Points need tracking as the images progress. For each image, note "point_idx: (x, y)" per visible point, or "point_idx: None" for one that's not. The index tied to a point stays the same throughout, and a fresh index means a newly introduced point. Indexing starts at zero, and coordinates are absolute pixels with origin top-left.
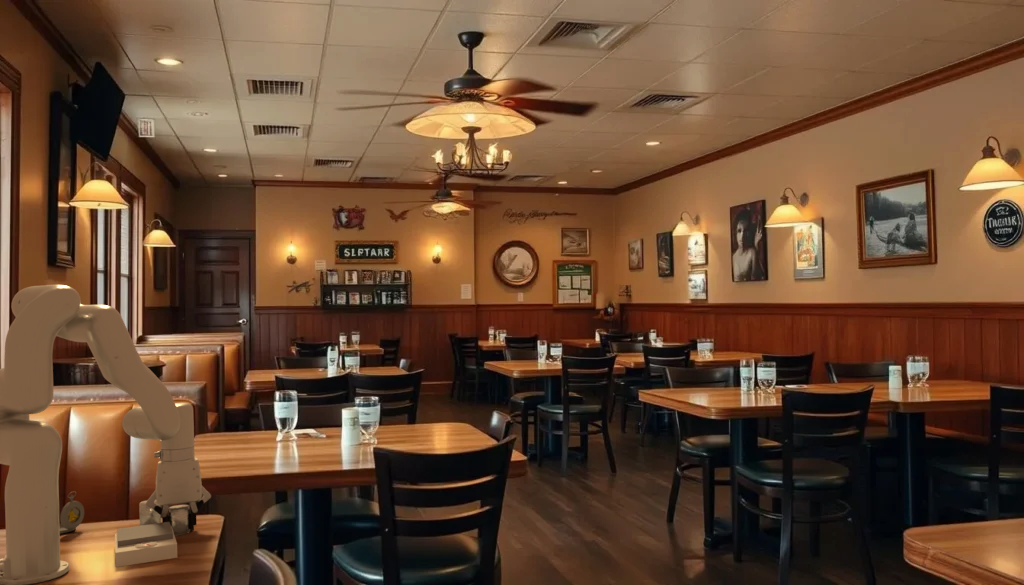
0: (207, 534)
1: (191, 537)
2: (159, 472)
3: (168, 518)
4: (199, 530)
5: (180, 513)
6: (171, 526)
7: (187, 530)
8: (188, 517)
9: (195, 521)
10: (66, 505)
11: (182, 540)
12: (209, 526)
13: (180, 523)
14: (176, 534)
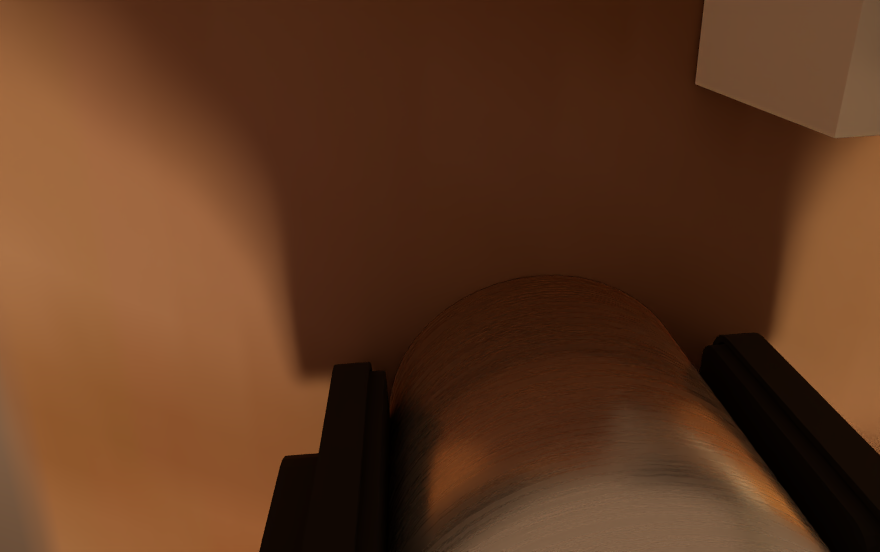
0: (83, 74)
1: (369, 6)
2: None
3: (869, 516)
4: (259, 383)
5: None
6: (857, 85)
7: (434, 339)
8: (418, 523)
9: (291, 489)
10: None
11: None
12: (135, 512)
13: (581, 379)
14: (600, 284)
